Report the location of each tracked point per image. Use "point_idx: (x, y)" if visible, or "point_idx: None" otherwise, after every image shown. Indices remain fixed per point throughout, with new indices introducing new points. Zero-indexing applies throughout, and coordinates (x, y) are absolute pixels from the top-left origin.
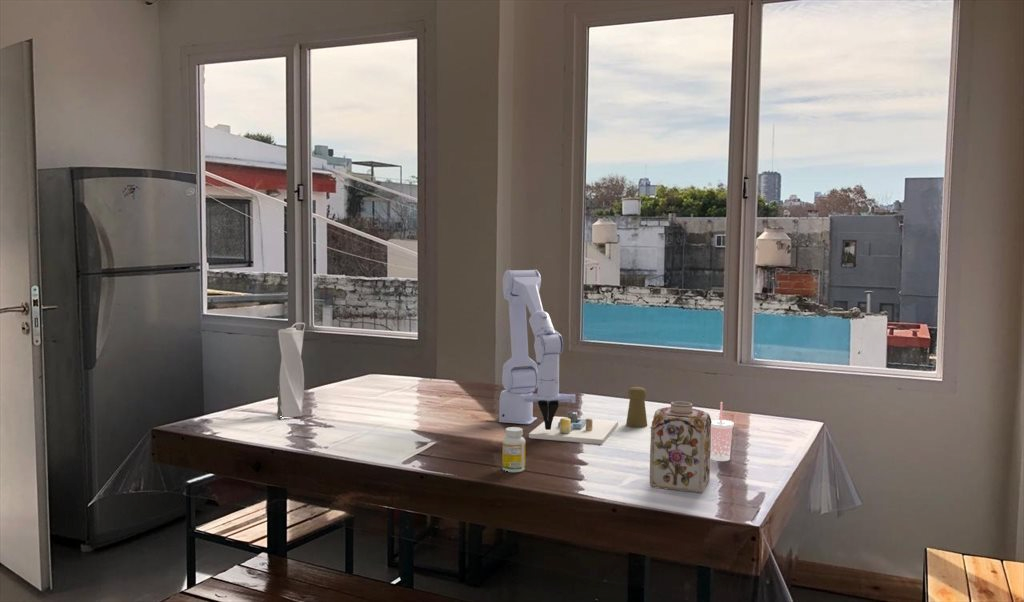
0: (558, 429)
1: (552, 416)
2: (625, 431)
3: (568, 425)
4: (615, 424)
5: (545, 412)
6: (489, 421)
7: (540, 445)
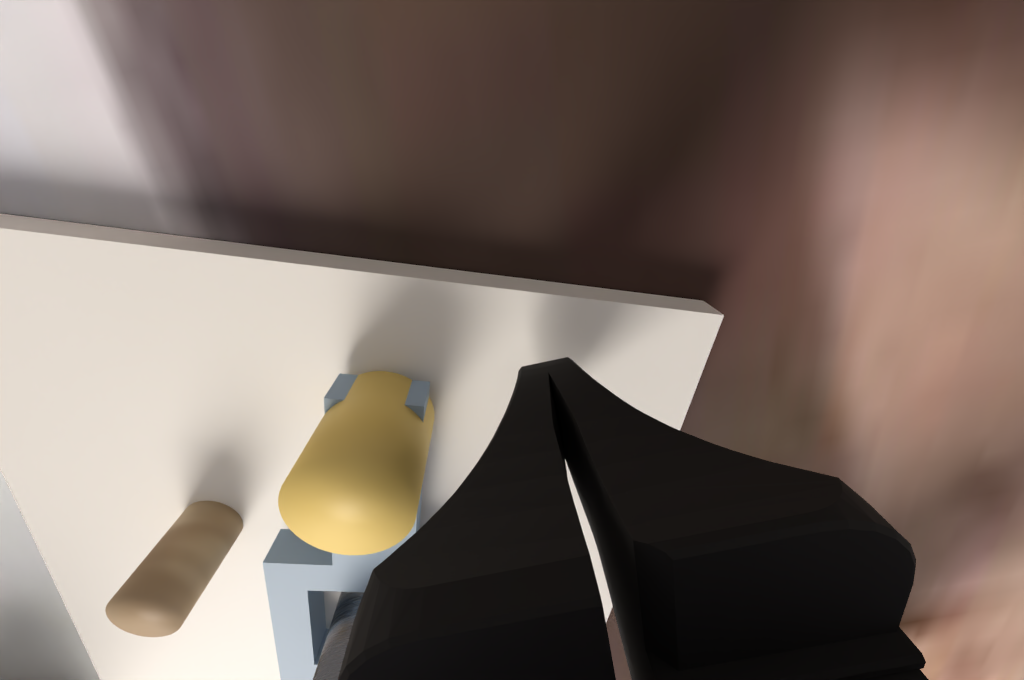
0: None
1: (504, 446)
2: (19, 605)
3: (317, 427)
4: (98, 673)
5: (643, 456)
6: (912, 619)
7: (588, 15)
